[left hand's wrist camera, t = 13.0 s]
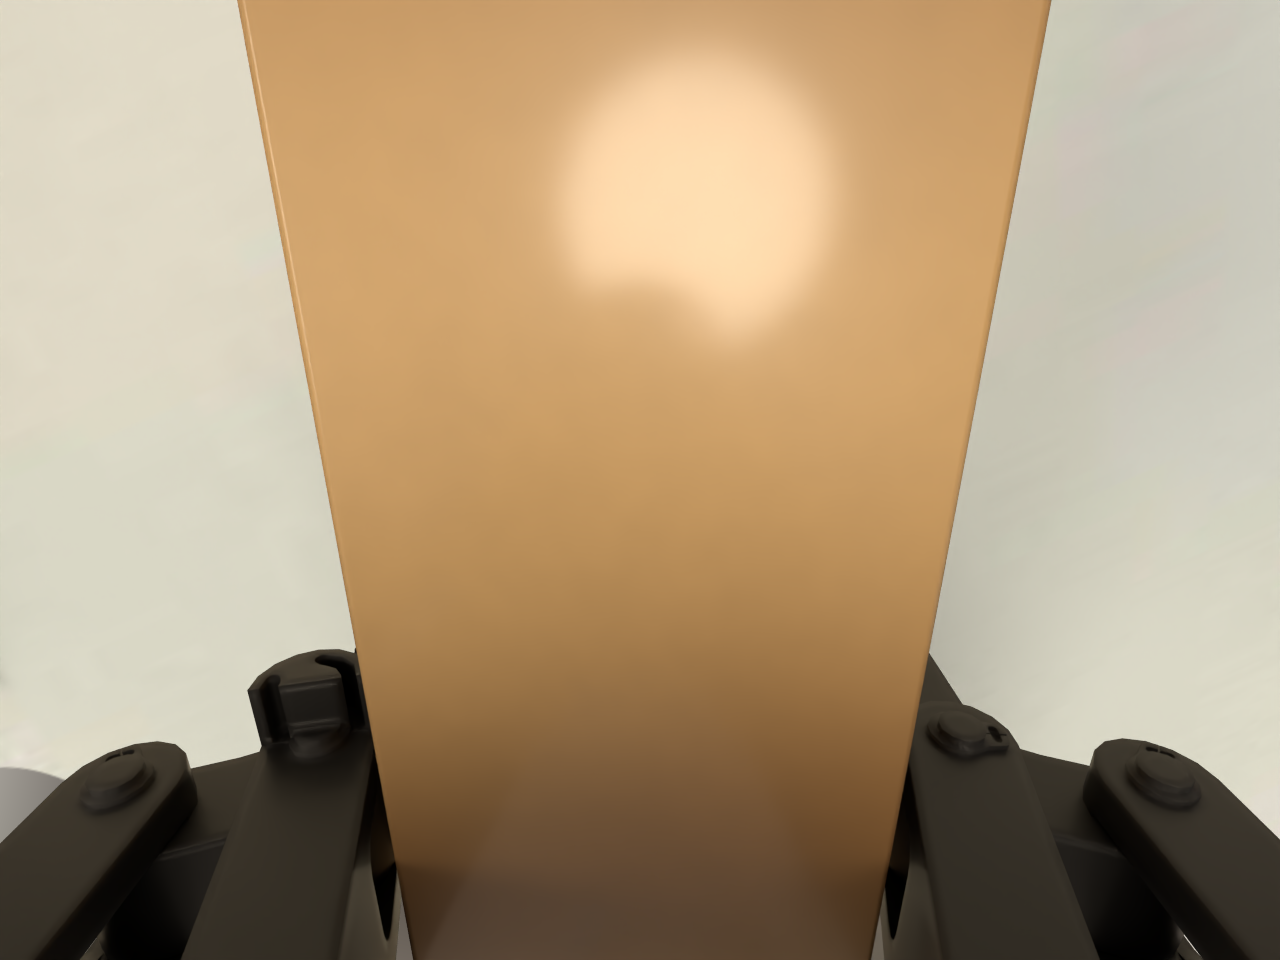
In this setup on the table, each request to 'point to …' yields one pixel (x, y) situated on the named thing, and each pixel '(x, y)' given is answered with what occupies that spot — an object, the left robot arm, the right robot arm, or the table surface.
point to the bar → (643, 435)
